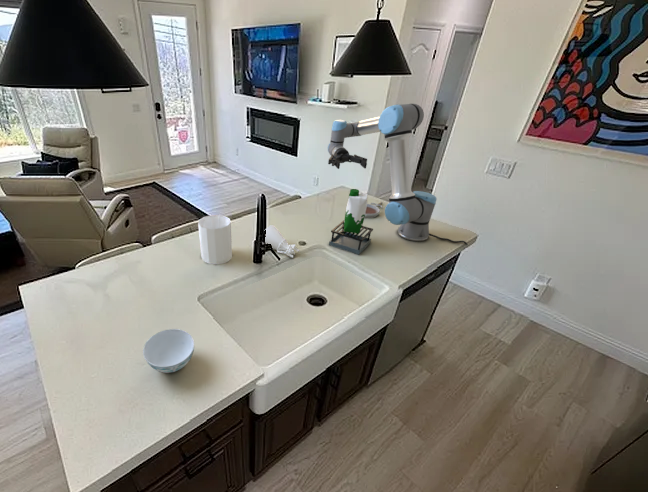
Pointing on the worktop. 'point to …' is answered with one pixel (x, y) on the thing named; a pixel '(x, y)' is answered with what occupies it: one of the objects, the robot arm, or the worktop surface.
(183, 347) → the chinaware
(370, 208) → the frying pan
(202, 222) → the container
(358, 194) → the soya milk
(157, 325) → the worktop surface
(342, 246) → the dish rack
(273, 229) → the rocket engine
